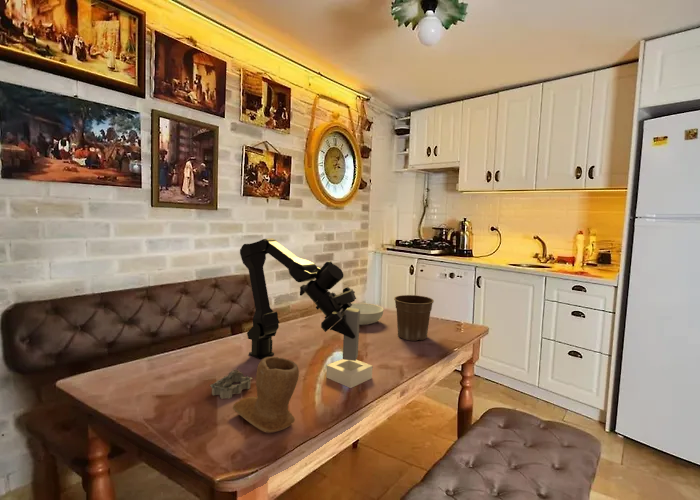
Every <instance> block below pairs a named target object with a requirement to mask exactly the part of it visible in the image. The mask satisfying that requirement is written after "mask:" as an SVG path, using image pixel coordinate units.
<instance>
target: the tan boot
mask: <svg viewBox="0 0 700 500" xmlns="http://www.w3.org/2000/svg"><path fill="white" fill-rule="evenodd" d="M299 374H300V369H299V366H298V364H297V363H296V362H294V361H293V360H291V359H287V358H284V357H278V356H267V357H264V358H261V360H260V361H259V363H258V364H257V368H256V374H255V375H256V378H255V386H256V395H257V396H249V397H244V398H241V399H240V400H238V401H237V402H235V403H234V404H233V405H232V409H233V411H235V413H236V414H238V415H239V416H240V417H241V418H243V419H244V420H246V421H247V422H248V423H249V424H250V425H252V426H253V427H255V428H256V429H258V430H259V431H261V432H264V433H276V432H280V431H282V430H286V429H288V428H289V427H290V426H292V424H293V423H295V417H294V415H293V414H292V412H290V410H289V403H290V401H291V399H292V396H293V394H294V393H295V390H296V387H297V385H298V381H299V376H300V375H299Z"/></svg>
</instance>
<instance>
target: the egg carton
mask: <svg viewBox="0 0 700 500" xmlns="http://www.w3.org/2000/svg"><path fill="white" fill-rule="evenodd" d="M253 379H254V378H253V377H251V376H250V377H249V376H248V375H246V376H244V374H243V372H242V371H239V369H238V368H237V369H233V370H232V371H230V372H229V373H228V374H227V375H224V376H223V378H221V379H217V381H215V382H214V383H211V384H209V386H210V388H211V395H212V396H219V398H220V399H222V400H224V399H231V398H233V395H234V394H235V395H236V394H239V395H240V394H241V393H242V390H249V389H251V380H253ZM233 383H236V384H233Z"/></svg>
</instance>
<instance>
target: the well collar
mask: <svg viewBox="0 0 700 500" xmlns="http://www.w3.org/2000/svg"><path fill="white" fill-rule="evenodd" d="M325 374H326V375H325V376H326V379H329V380H331V381H333V382H335V383H338V384H340V385H342V386H345V387H346V388H347V387H348V388H350V389H352V388H354V387H356V386H359V385H361V384H362V383H364V382H367V381H369V380H371V379H373V365H372V364H370V363H366V362H364V361H360V360H358V359H356V361H353V360H344V359H343V358H342V359H339V360H336V361H334V362H331V363H329V364H326V373H325Z"/></svg>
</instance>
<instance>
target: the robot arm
mask: <svg viewBox="0 0 700 500" xmlns="http://www.w3.org/2000/svg"><path fill="white" fill-rule="evenodd" d="M268 254H269V255H270V256H271V257H273V258H274V259H275V260H276V261H278V262H279V263H280V264H282V266H284V267H285V268H287V270H288V273H289V275H290V276H291V278H293V280H294V281H295V282H297V283H303V282H304V283H305V282H307V283H306V284H302V285H300V286H299V288H300V289H299V290H300V291H299V296H303V295H305V294H306V295H307V296H308V298H310V299H311V300H312V302H313V303H314V304H315V305H316V306H315V309H316V310H320V311H321V313H323V315H325V316H324V319H323V320H322V321H321V324H320V327H321V329H322V331H324V332H325V333H326V332H327V331H333V332H335V333H338V334H340V335H343V336H344V335H345V336H347V337H349V338H352V339H354V338H355V335H354V333H353V332H352V330H351V328H350V327H349V325H348V324H347V323H346V315H345V310H346V309H347V308H350V307H351V306H352V304H351V303H353V302H355V300H357V297H356V295H355V293H356V292H355V291H354V289H353V288H350V287H348V286H347V287H344V288H343V289H342V292H340V293H339V294H336V293H335V292H330V290H331V289H333V288H334V287H335V286H337V284H338V283H339V282H340V281H341V280H342V279H344V272H343V270H342V269H341V268H340V267H339V266H337V265H336V264H334V263H333V262H332V261H325V263H323V265H322V267H321V268H320V267H318V266H317V265H316V263H314V262H312V261H310V260H308V259H304V258H301V257H298V256H297V255H295V254H294V253H293V252H291V251H290V250H288V249H287V248H286V247H284V246H283V245H282V244H281V243H279V242H278V241H277V240H276V239H275V238H274V237H273V238H263V239H260V240H259V241H256V242H251V243H244V244H243V245H241V248H240V250H239V255H240V258H241V262H242V264H243V266H245V267H246V268H247V270H248V275H249V280H250V286H251V292H252V297H253V303H254V308H255V312H254V314H253V317H252V327H251V328H250V329H249V330H248V331H247V332H246V335H247V339H248V340H251V351H249V352H248V355H250V356H252V357H254V358H257V359H261V360H262V359H264V358H266V357H272V356H273V355H275V352H273V339H272V338H273V337H275V336H276V335H277V331H278V329H279V327H280V326H279V324H280V321H279V315H278V312H277V311H274V310H273V309H272V308H271V305H270V304H271V303H270V300H269V299H270V298H269V292H268V288H267V283H266V277H265V271H264V265H265V263H266V261H267V257H266V255H268Z"/></svg>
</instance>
